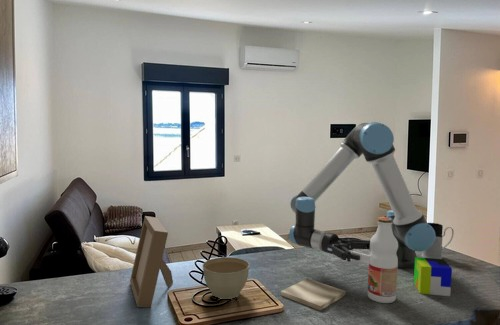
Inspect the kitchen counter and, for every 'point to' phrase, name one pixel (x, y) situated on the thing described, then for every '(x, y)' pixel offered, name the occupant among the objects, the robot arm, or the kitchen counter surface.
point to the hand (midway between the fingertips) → (379, 255)
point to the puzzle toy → (432, 276)
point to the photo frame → (149, 262)
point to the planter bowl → (226, 276)
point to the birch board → (313, 294)
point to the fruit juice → (383, 263)
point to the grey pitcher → (436, 242)
